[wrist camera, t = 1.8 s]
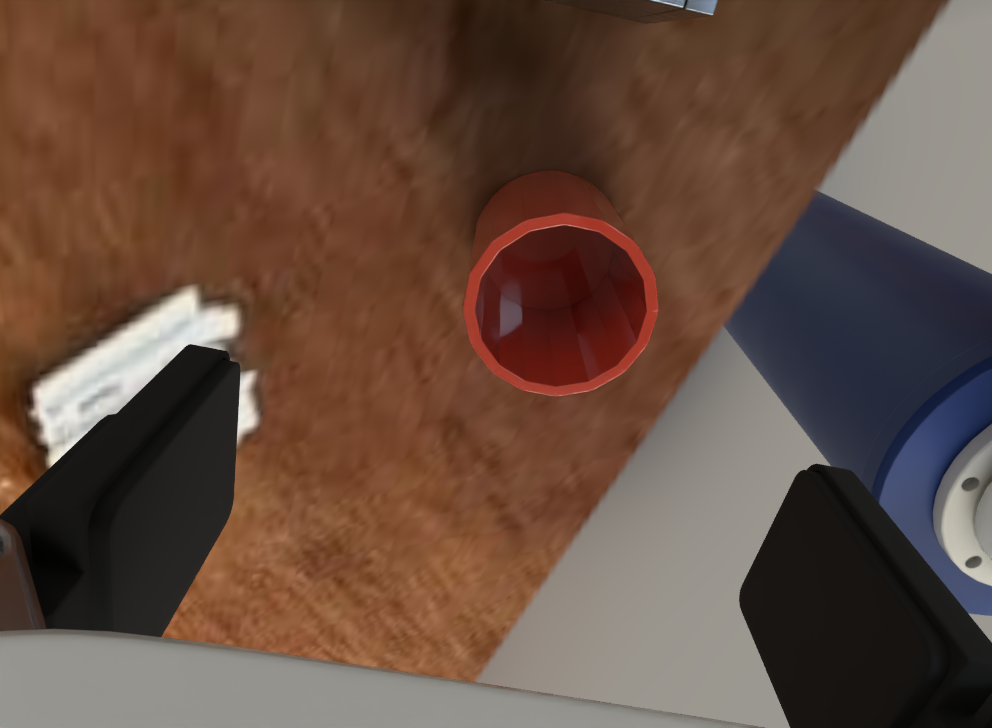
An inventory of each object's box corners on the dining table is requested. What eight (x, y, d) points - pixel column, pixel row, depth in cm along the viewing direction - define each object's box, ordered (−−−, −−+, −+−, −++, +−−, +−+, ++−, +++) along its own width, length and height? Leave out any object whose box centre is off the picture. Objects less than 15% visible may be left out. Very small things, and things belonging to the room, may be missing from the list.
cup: (638, 187, 28) (683, 236, 21) (598, 324, 31) (626, 410, 24) (489, 156, 28) (484, 195, 21) (462, 298, 31) (449, 377, 24)
